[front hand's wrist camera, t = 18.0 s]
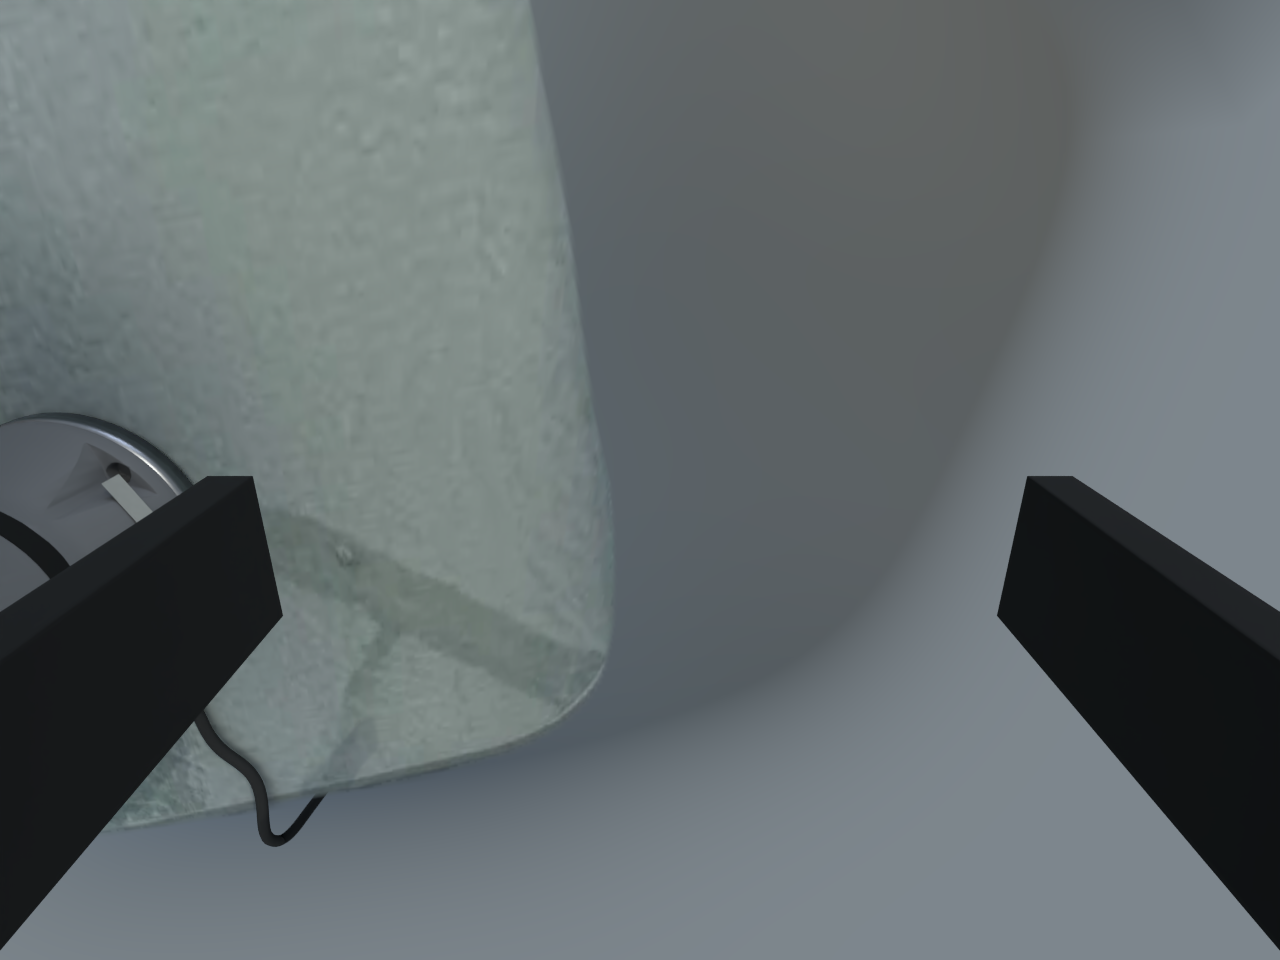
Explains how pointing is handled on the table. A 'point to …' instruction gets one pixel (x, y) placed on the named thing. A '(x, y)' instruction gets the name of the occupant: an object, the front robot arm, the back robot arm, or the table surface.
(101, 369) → the table surface
